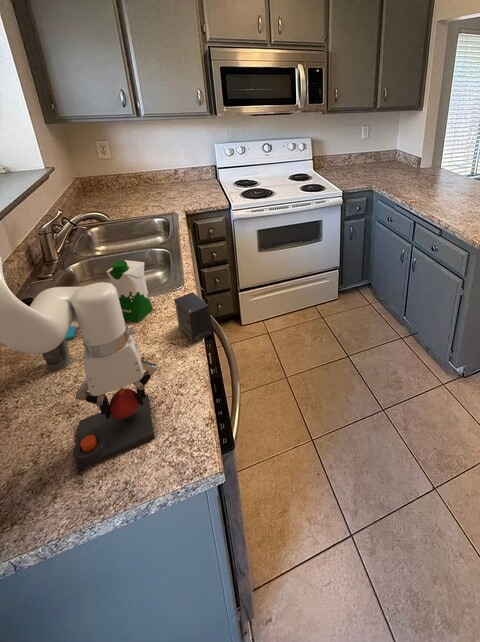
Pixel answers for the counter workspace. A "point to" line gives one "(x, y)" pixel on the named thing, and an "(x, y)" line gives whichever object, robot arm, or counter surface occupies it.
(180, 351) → the counter surface
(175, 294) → the counter surface
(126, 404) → the onion
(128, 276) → the milk carton
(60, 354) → the beverage cup
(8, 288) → the robot arm
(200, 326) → the small box
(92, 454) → the scale
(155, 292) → the counter surface
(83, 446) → the power button
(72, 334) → the sponge
